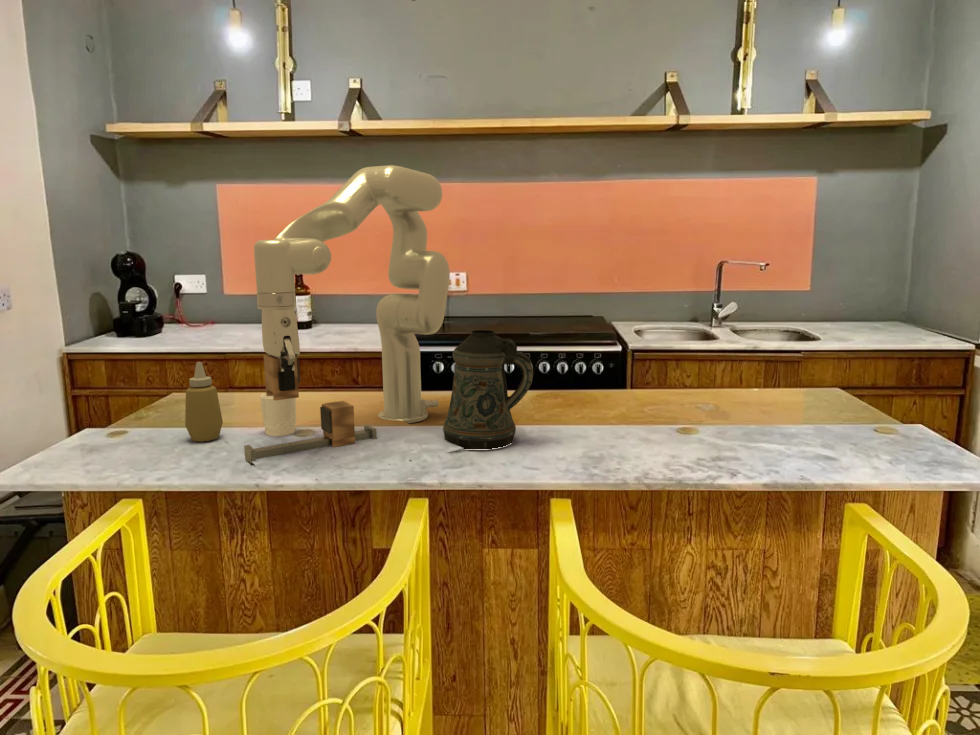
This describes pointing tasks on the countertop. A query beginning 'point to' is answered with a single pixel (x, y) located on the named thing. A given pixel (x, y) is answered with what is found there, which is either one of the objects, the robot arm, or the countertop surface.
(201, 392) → the squeeze bottle
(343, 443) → the wooden block
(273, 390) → the brown capped cube
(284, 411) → the white cup
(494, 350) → the beer stein
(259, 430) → the countertop surface
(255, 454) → the rail
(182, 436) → the countertop surface
